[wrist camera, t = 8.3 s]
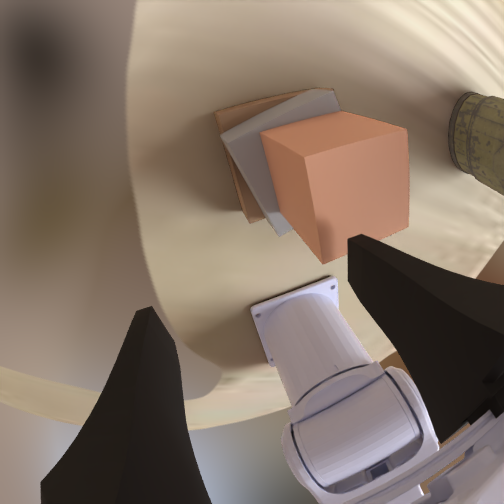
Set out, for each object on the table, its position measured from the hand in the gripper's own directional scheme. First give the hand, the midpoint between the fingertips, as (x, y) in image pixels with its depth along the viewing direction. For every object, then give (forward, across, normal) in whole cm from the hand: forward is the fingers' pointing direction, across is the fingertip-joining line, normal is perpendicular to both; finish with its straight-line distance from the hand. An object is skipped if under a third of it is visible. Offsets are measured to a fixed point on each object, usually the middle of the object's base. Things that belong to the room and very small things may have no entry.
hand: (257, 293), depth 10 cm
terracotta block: (+6, -5, -2) cm, 8 cm away
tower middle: (+8, -5, -2) cm, 10 cm away
